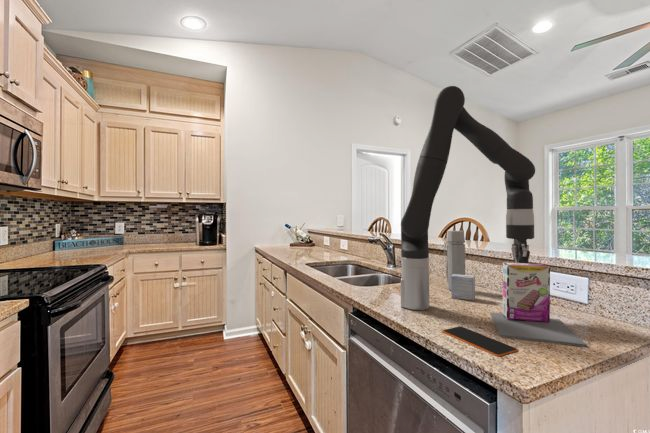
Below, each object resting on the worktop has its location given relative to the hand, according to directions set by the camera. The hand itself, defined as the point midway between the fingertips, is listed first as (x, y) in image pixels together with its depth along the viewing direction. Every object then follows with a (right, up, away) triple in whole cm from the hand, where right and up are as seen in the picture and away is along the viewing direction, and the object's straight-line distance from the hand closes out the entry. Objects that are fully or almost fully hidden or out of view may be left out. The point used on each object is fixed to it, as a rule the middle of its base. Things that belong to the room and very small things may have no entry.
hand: (520, 278), depth 96 cm
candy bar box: (-2, -11, -6) cm, 13 cm away
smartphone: (-24, -12, -20) cm, 33 cm away
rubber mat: (-5, -12, -12) cm, 17 cm away
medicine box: (-9, -12, +20) cm, 25 cm away
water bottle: (-7, -12, +33) cm, 36 cm away
